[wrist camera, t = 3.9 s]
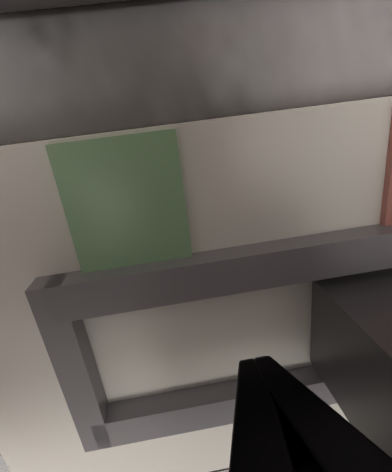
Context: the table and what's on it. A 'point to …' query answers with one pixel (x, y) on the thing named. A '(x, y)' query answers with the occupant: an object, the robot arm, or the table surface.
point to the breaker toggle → (356, 348)
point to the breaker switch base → (175, 276)
